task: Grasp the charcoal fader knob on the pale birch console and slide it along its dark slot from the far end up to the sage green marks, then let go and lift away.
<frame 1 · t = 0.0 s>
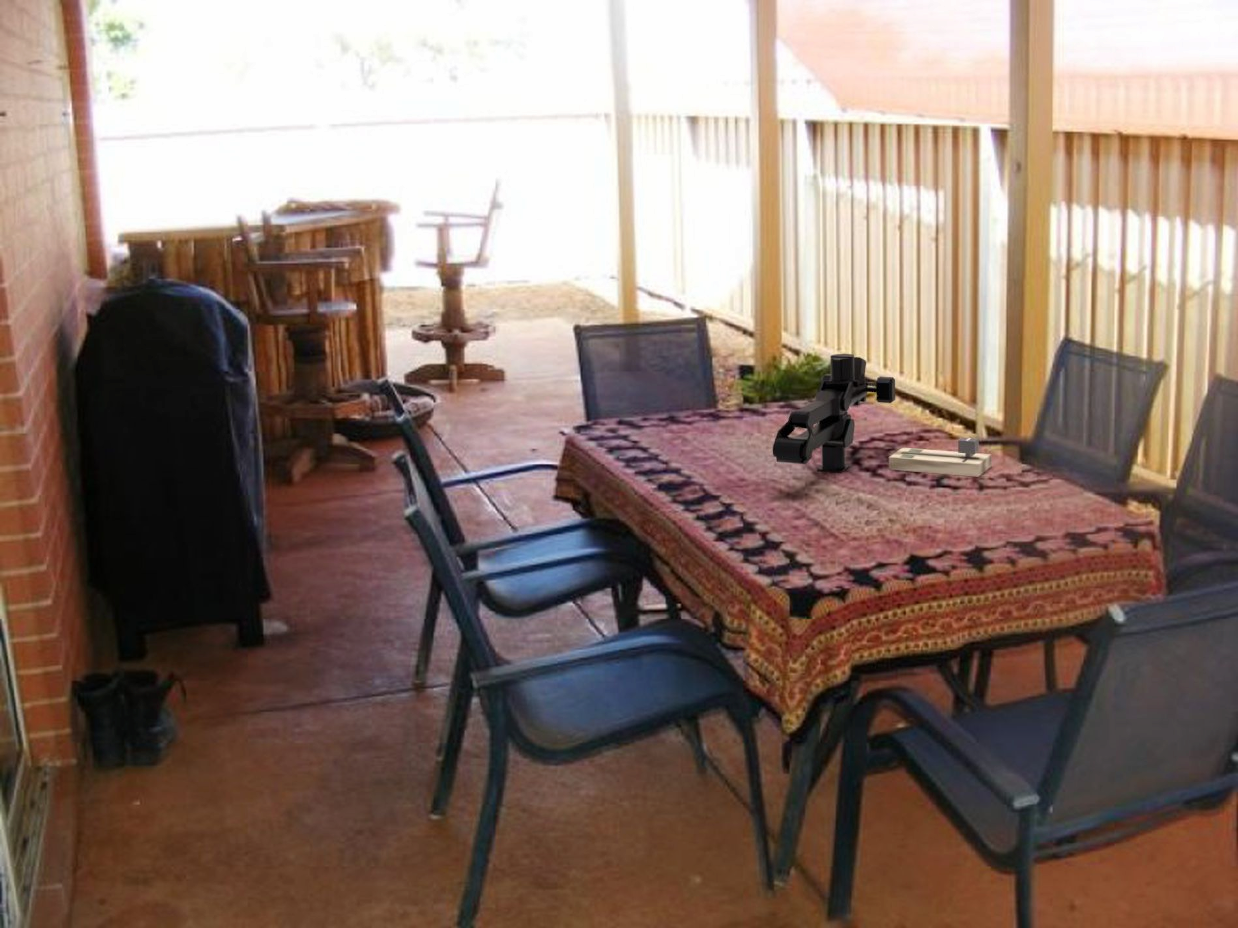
hand: (870, 381, 385), 16 cm above the table, tool horizontal, fingers open, 9 cm apart
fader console: (939, 467, 363), on the table
fader knob: (968, 447, 358), point 5 cm above the table, slide at 0.0 cm
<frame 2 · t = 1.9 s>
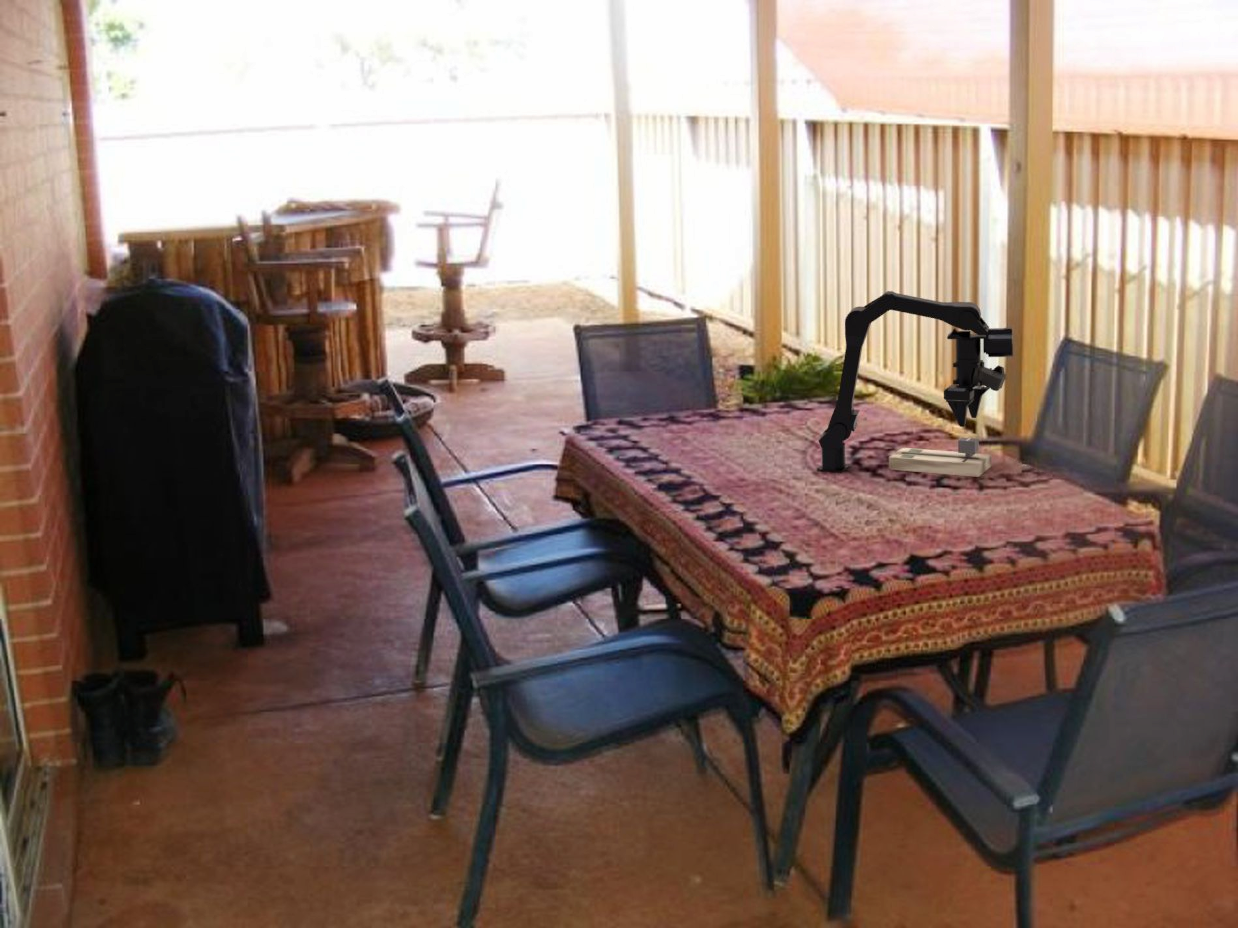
hand: (968, 422, 357), 12 cm above the table, tool pointing down, fingers open, 9 cm apart
nothing on the table moved.
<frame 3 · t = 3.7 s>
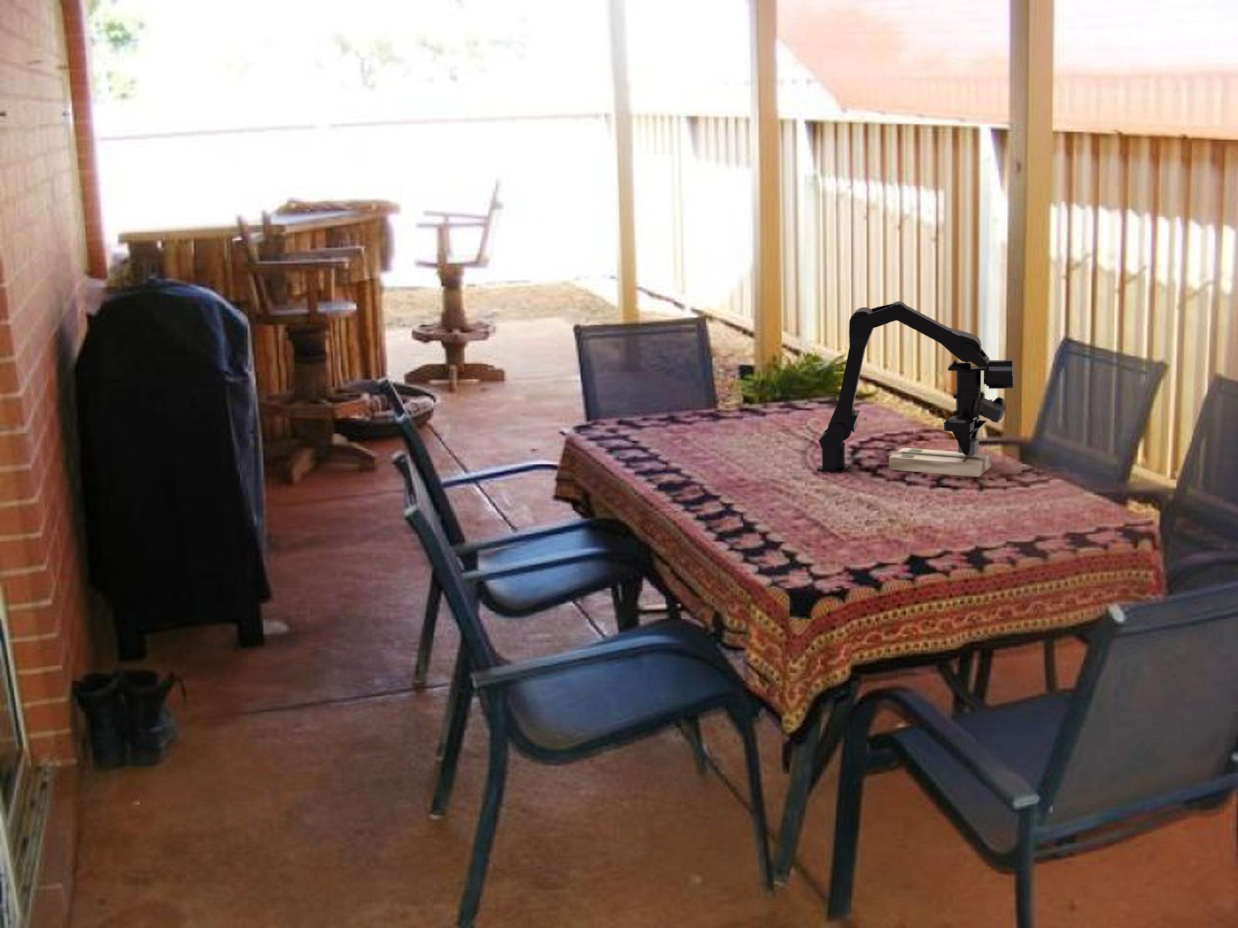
hand: (968, 453, 358), 4 cm above the table, tool pointing down, fingers closed on fader knob, 3 cm apart
fader knob: (968, 447, 358), point 5 cm above the table, slide at 0.0 cm, touching gripper
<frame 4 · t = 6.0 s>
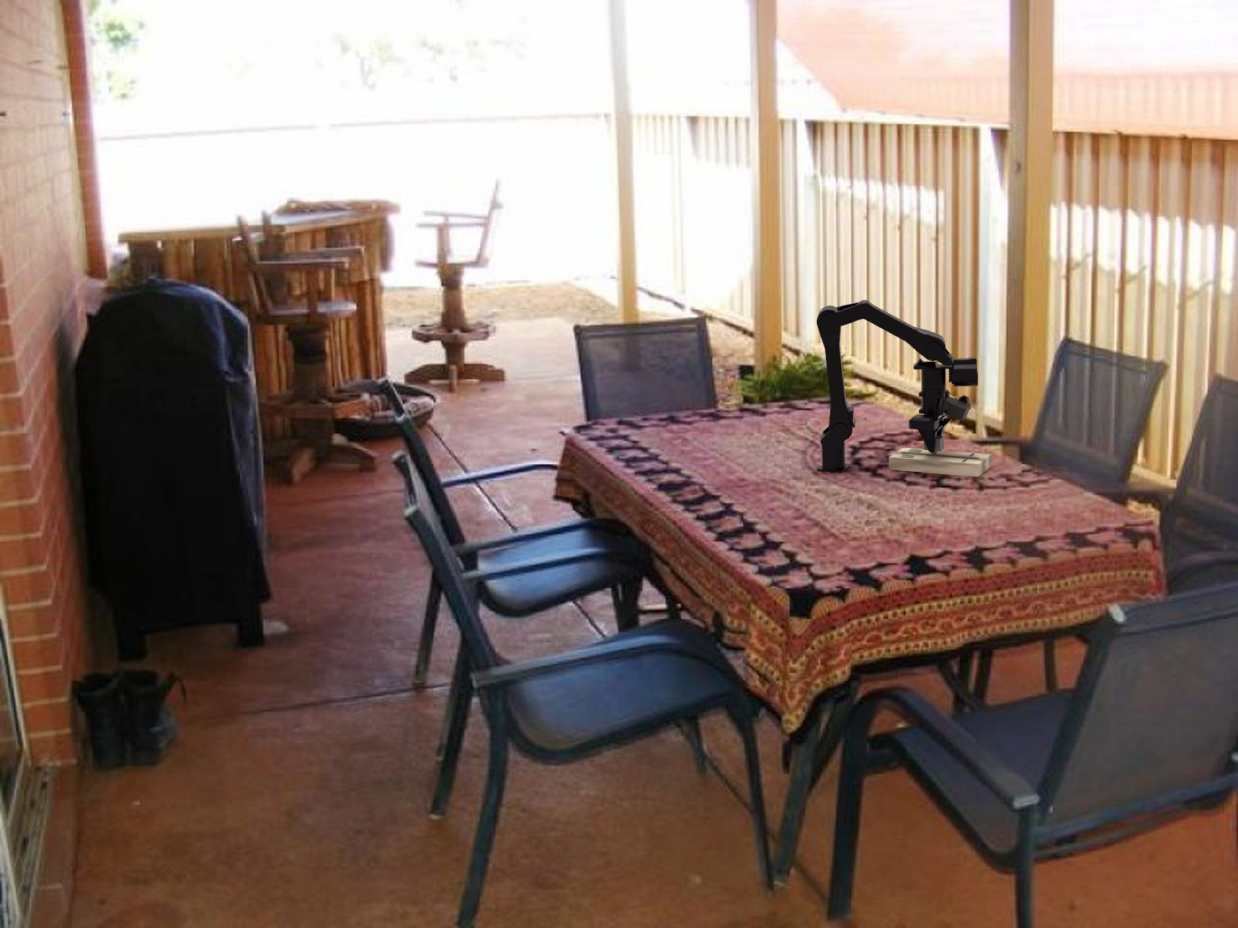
hand: (933, 450, 363), 4 cm above the table, tool pointing down, fingers closed on fader knob, 3 cm apart
fader knob: (934, 445, 362), point 5 cm above the table, slide at 8.4 cm, touching gripper
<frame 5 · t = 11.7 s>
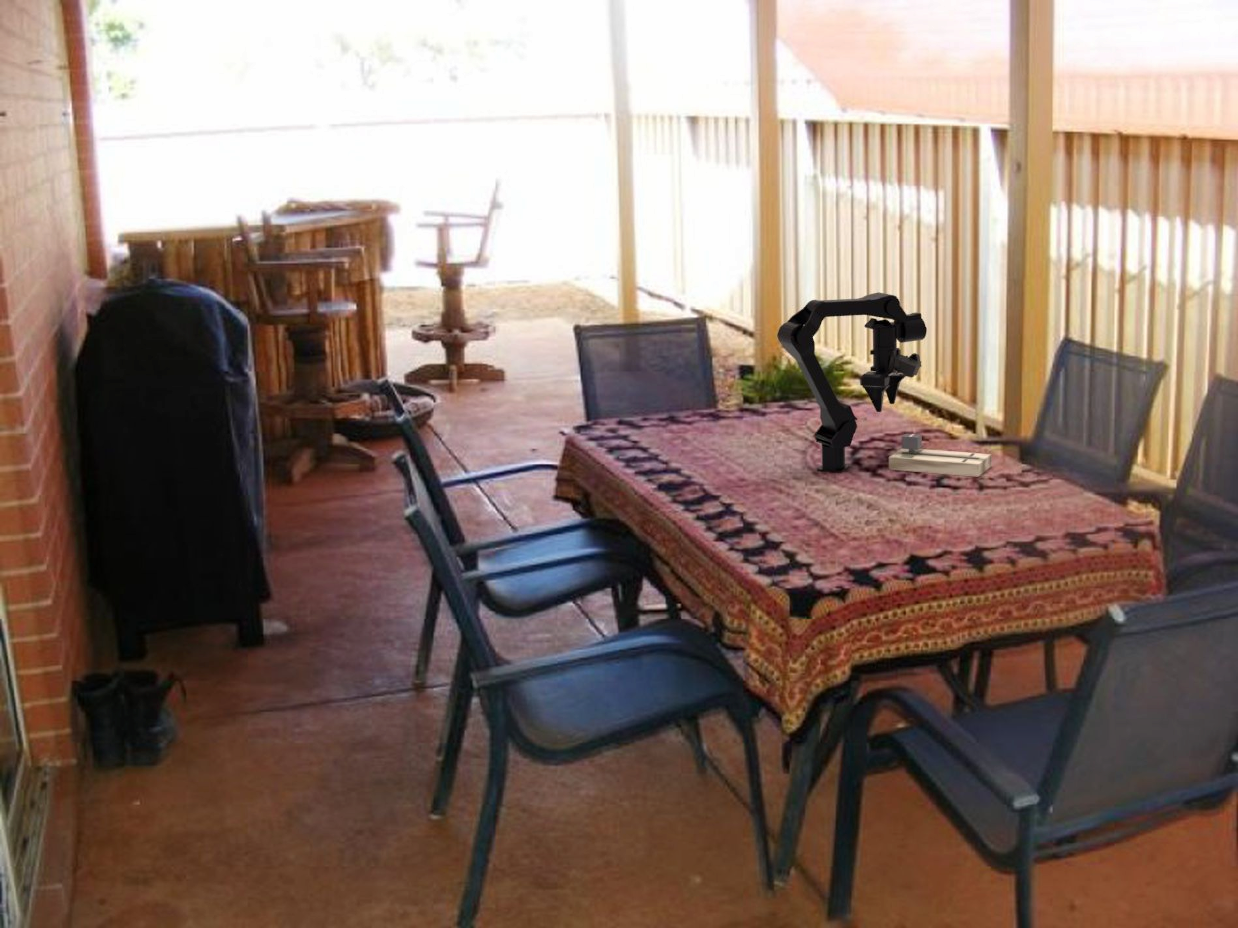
hand: (885, 407, 370), 13 cm above the table, tool pointing down, fingers open, 9 cm apart
fader knob: (911, 443, 365), point 5 cm above the table, slide at 14.0 cm
at the end: fader knob slide at 14.0 cm; the gripper is holding nothing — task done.
